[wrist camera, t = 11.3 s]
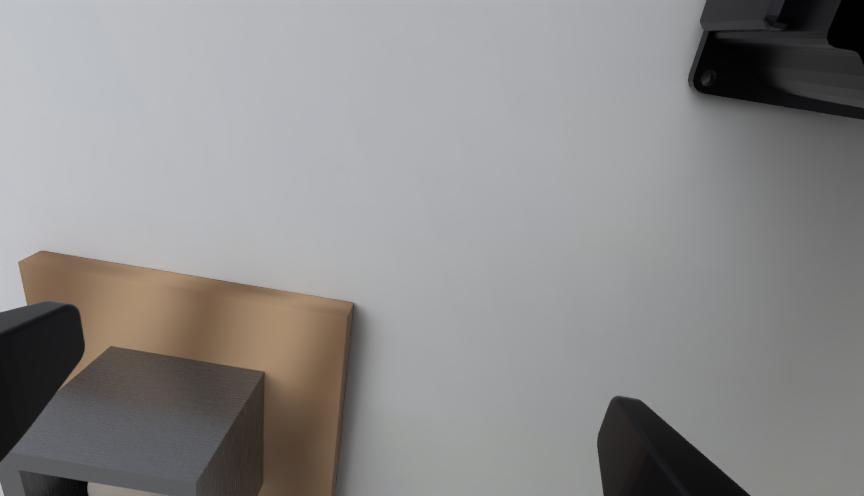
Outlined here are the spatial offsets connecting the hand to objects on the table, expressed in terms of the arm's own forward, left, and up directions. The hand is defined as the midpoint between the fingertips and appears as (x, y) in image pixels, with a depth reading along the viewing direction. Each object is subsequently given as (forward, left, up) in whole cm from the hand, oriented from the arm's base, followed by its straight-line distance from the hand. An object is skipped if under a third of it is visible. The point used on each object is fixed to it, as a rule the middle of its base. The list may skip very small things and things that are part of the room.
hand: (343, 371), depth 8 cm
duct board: (+9, +13, -12) cm, 20 cm away
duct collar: (+9, +13, -11) cm, 19 cm away
